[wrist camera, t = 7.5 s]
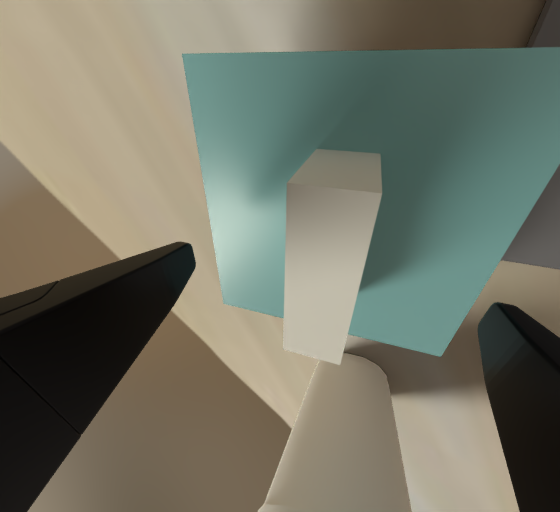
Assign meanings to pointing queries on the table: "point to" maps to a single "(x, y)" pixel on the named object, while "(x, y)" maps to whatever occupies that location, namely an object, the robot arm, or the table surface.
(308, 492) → the foam cup
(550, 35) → the mat
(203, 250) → the table surface
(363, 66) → the cover plate
